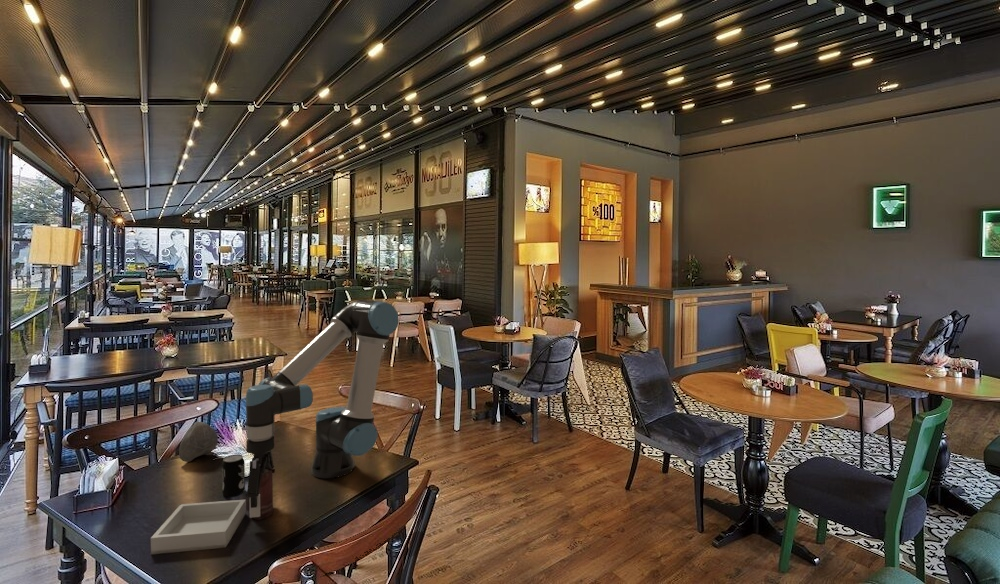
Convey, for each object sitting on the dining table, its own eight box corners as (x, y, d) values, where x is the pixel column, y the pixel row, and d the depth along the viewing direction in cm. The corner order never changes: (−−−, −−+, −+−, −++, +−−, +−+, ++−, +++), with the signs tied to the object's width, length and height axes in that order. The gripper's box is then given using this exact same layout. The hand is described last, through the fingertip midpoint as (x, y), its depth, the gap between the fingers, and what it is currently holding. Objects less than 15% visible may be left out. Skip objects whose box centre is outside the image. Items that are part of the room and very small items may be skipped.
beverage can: (235, 498, 159) (234, 462, 159) (217, 496, 161) (217, 460, 160) (249, 489, 166) (248, 454, 165) (232, 487, 167) (231, 453, 166)
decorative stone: (206, 449, 199) (205, 413, 198) (226, 453, 196) (225, 416, 195) (171, 464, 184) (170, 425, 183) (192, 468, 181) (191, 428, 180)
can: (246, 521, 146) (245, 475, 145) (256, 510, 152) (255, 466, 151) (267, 521, 146) (266, 475, 145) (276, 510, 153) (275, 466, 152)
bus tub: (246, 513, 150) (245, 499, 150) (225, 547, 133) (225, 531, 132) (181, 518, 147) (180, 504, 146) (151, 554, 129) (150, 538, 129)
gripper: (258, 423, 159) (259, 487, 160) (233, 453, 135) (234, 528, 136) (283, 422, 161) (284, 485, 162) (262, 452, 136) (263, 525, 138)
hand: (261, 505), depth 149 cm, fingers open, 13 cm apart
